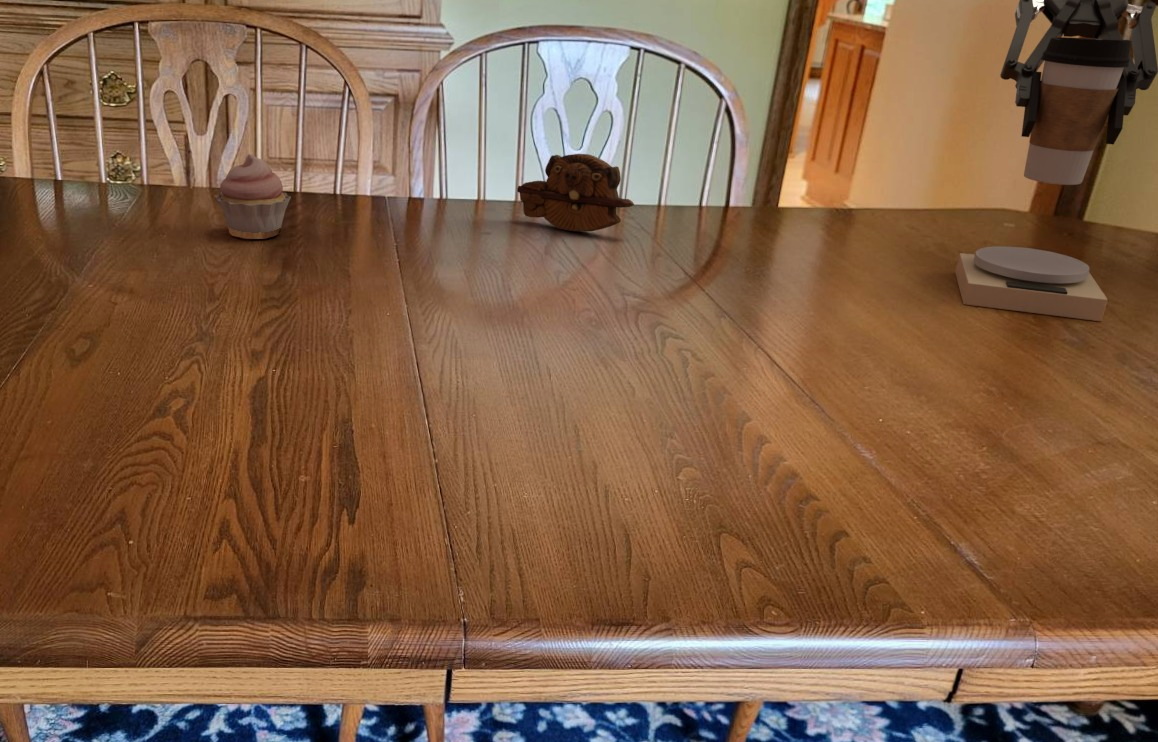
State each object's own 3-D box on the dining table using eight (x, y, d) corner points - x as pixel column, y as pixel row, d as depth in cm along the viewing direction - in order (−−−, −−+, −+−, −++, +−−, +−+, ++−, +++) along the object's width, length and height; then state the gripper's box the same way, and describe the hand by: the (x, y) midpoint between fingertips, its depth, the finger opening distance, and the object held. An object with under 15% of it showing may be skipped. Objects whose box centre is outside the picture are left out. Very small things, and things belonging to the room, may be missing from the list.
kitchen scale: (1080, 287, 131) (1089, 254, 130) (1101, 321, 119) (1112, 286, 118) (954, 272, 135) (962, 240, 134) (963, 304, 123) (971, 269, 122)
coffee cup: (1046, 187, 118) (1087, 39, 112) (994, 171, 125) (1030, 31, 119) (1112, 187, 120) (1155, 41, 113) (1057, 171, 127) (1095, 33, 121)
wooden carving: (508, 224, 149) (513, 149, 144) (523, 218, 152) (528, 144, 148) (622, 244, 141) (630, 165, 137) (635, 237, 145) (643, 160, 141)
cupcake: (203, 230, 139) (198, 150, 135) (269, 222, 145) (267, 144, 140) (237, 247, 133) (233, 163, 128) (305, 238, 138) (303, 157, 134)
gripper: (1177, -5, 125) (1165, 163, 118) (983, -16, 131) (960, 144, 124) (1204, -57, 118) (1193, 119, 111) (998, -65, 124) (975, 101, 117)
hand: (1070, 132), depth 117 cm, fingers closed on coffee cup, 8 cm apart
